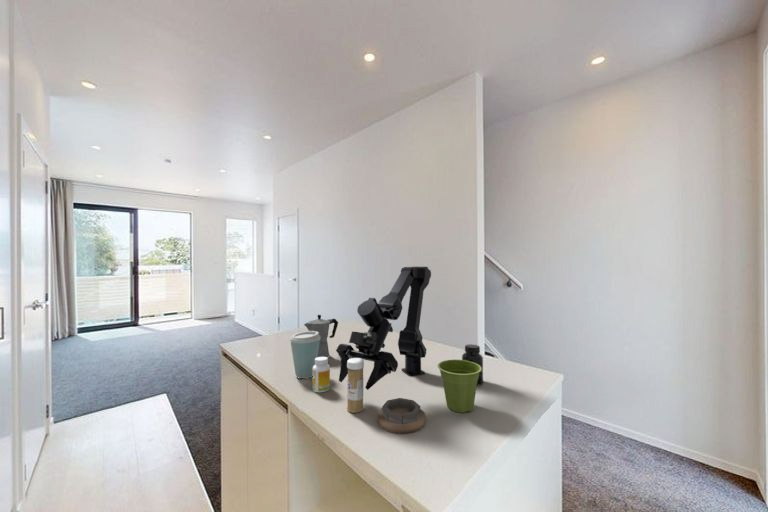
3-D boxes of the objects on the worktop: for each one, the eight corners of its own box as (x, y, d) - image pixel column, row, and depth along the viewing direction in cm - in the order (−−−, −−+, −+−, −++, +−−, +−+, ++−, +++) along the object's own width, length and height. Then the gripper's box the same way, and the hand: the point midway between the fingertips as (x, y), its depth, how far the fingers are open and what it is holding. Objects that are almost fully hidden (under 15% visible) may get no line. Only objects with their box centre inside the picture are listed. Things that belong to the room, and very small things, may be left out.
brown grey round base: (370, 414, 80) (370, 400, 80) (411, 405, 84) (411, 393, 84) (389, 438, 68) (389, 422, 69) (434, 427, 73) (434, 412, 73)
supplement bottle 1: (332, 387, 97) (333, 356, 97) (324, 394, 92) (324, 361, 92) (318, 385, 99) (318, 355, 99) (309, 391, 94) (309, 360, 94)
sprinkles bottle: (343, 410, 82) (343, 360, 82) (355, 404, 85) (355, 356, 86) (355, 415, 79) (355, 363, 79) (367, 409, 82) (367, 359, 83)
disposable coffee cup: (297, 384, 100) (297, 338, 100) (284, 375, 108) (284, 332, 108) (325, 376, 107) (326, 333, 107) (311, 368, 115) (311, 328, 115)
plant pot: (435, 397, 90) (434, 359, 90) (475, 397, 89) (475, 359, 89) (441, 417, 78) (441, 373, 78) (487, 418, 77) (487, 374, 78)
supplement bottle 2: (484, 386, 97) (484, 349, 97) (462, 385, 98) (462, 348, 99) (481, 378, 104) (481, 343, 104) (461, 377, 105) (461, 342, 106)
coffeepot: (308, 363, 121) (308, 318, 121) (300, 357, 128) (300, 314, 129) (342, 356, 130) (342, 314, 130) (333, 351, 137) (333, 311, 138)
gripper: (340, 316, 91) (312, 363, 82) (392, 323, 81) (368, 377, 72) (356, 337, 98) (332, 383, 88) (406, 346, 88) (386, 398, 78)
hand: (352, 385), depth 81 cm, fingers open, 9 cm apart
